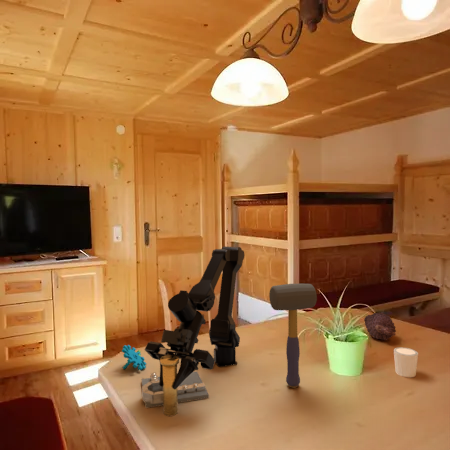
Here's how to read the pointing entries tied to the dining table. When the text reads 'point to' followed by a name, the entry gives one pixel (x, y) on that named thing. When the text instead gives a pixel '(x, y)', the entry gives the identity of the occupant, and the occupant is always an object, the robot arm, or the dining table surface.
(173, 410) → the golden flared cup
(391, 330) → the pine cone
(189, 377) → the grey base plate
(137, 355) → the gear
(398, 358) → the shot glass
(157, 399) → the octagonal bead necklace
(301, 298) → the rubber mallet
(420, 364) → the dining table surface
